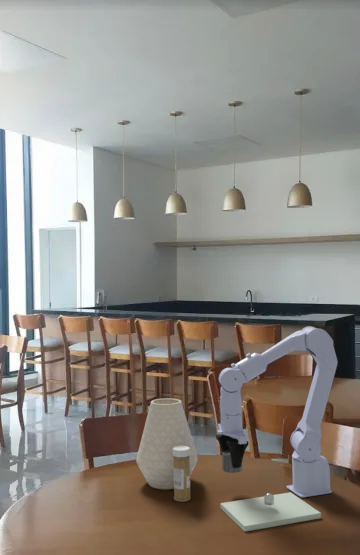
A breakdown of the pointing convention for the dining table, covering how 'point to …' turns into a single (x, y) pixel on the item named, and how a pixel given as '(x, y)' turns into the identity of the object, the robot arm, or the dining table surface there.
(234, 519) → the post board
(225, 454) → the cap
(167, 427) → the vase
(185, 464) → the sprinkles bottle
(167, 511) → the dining table surface
